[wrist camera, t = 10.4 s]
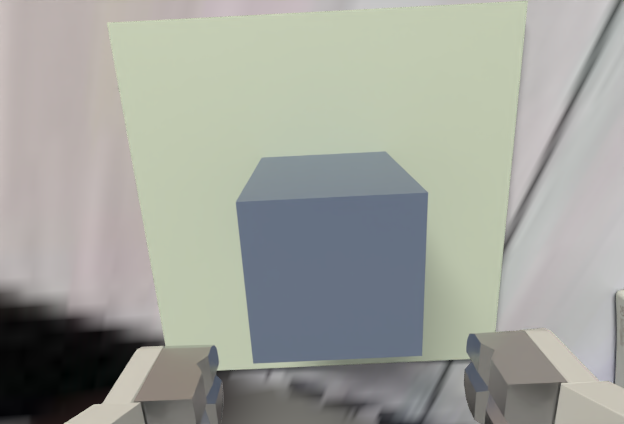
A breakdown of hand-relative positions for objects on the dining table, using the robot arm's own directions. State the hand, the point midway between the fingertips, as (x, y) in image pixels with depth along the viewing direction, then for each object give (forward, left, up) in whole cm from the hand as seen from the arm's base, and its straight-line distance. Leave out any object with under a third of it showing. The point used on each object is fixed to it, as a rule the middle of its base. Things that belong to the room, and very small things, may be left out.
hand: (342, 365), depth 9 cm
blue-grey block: (0, 0, -10) cm, 10 cm away
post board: (0, 0, -11) cm, 11 cm away
